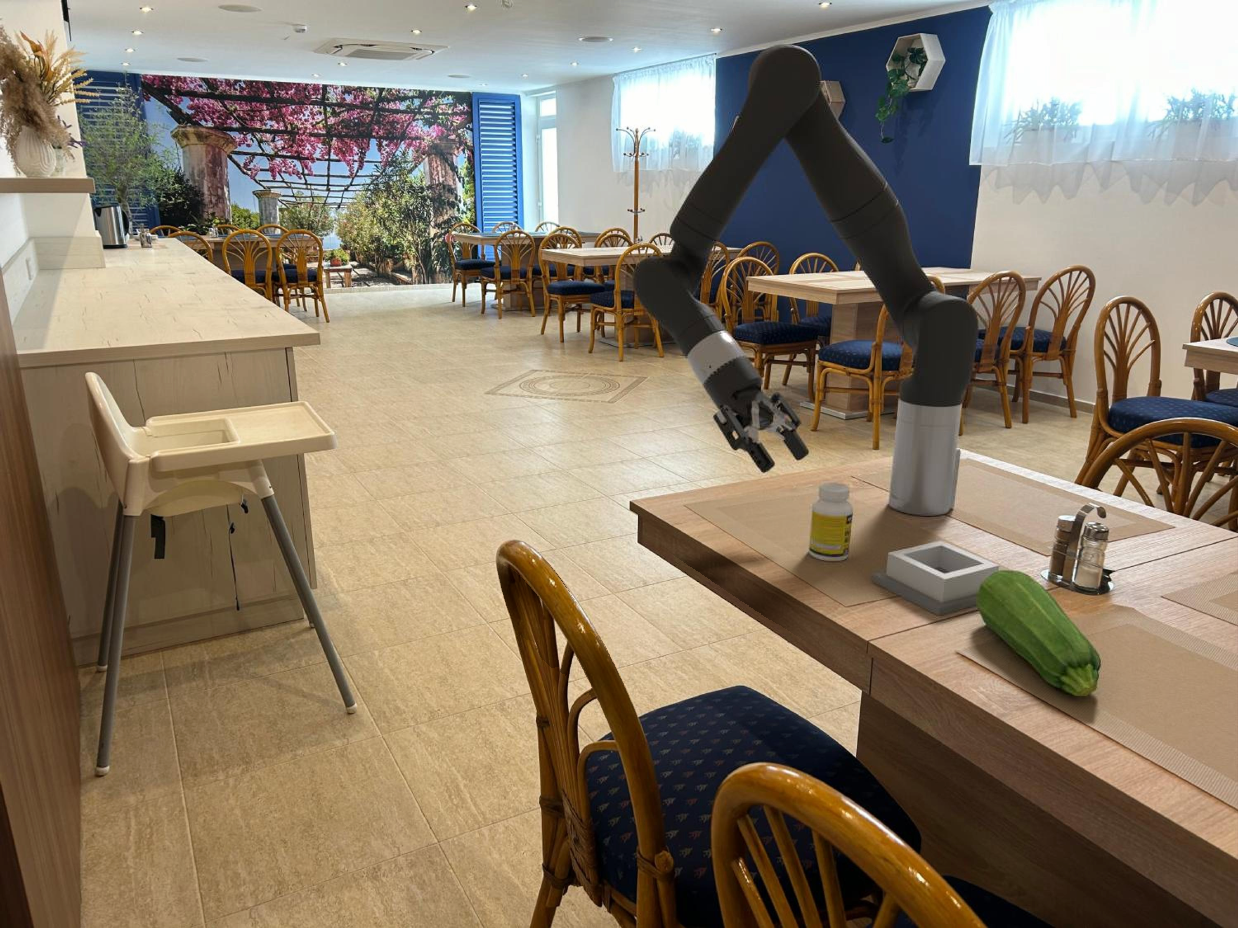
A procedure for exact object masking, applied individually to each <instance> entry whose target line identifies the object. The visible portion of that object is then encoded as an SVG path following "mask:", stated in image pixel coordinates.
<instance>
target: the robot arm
mask: <svg viewBox="0 0 1238 928" xmlns="http://www.w3.org/2000/svg"><path fill="white" fill-rule="evenodd" d="M821 74H822V73H821V70H820V65H819V63H818V61H817V59H816V58H815V56H813V54H812V53H811V52H809V51H808V50H807V49H805V48H803V47H801V46H799V45H796V44H795V45H793V44H790V43H780V44H774V45H772V46H770V47H767V48H766V49H764V50H762V51H760V53H759V54H758V55H757V56H756V58H754V60H753V62H752V64H751V66H750V69H749V71H748V76H747V88H748V93H747V96H746V99H745V100H744V104H743V105H742V108H741V111H740V112H739V115H738V117H737V120H736V121H735V123H734V125H733V128H732V129H731V131H730V132H729V134H728V135H727V137H726V139H725V141H724V143H723V144H722V145H721V147H720V148H719V150H718V151H717V153H716V154H715V156H713V158H712V159H711V161H710V162H709V164H708V165H707V166H706V168H705V169H704V170H703V172H702V173H701V175H700V176H699V177H698V179H697V180H696V181H695V183H694V185H693V186H692V188H691V189H690V191H689V193H688V195H687V196H686V198H685V200H684V202H683V203H682V205H681V206H680V208H679V210H678V211H677V213H676V215H675V217H674V218H673V220H672V223H671V224H670V228H669V230H668V231H669V236H670V238H671V239H672V241H673V245H672V247H671V251H670V252H669V254H668V256H667V257H662V256H655V255H654V256H649V257H645V258H643V259H642V260H640V262H638V263H637V264H636V266H635V268H634V270H633V272H632V281H631V282H632V288H633V291H634V293H635V296H636V298H637V300H638V301H639V303H640V304H641V305H642V306H643V308H644V309H645V310H646V311H647V313H648V314H649V315H650V316H652V318H654V320H656V322H657V323H658V324H659V325H660V326H661V327H663V329H665V331H667V332H668V333H669V335H670V336H671V337H672V339H673V340H674V342H675V343H676V345H677V346H678V348H679V349H680V351H681V352H682V354H683V355H684V357H685V358H686V360H687V362H688V364H689V365H690V367H691V370H692V372H693V373H694V375H695V376H696V378H697V379H698V381H699V382H700V385H701V386H703V389H704V390H705V391H706V393H707V395H708V396H709V397H710V399H711V400H712V402H713V404H714V405H715V407H716V408H717V409H718V410H717V411H716V412H715V413H714V414H713V417H712V418H713V420H714V422H715V423H716V424H717V426H718V428H719V429H720V431H721V433H722V434H723V436H724V438H725V440H726V442H727V443H728V444H729V446H730V447H731V449H732V450H733V451H735V452H736V451H738V450H742V451H743V452H744V453H747V454H748V455H749V457H750V458H751V460H752V461H753V463H754V465H756V467H757V468H758V469H759V471H760V472H761V473H762V474H763V473H764V474H765V473H769V471H771V470H772V469H773V468H774V467H775V465H776V462H775V461H774V459H773V458H772V456H771V455H770V453H769V452H768V450H767V449H766V447H765V446H764V444H763V442H759V441H760V439H759V431H764V430H765V432H768V433H769V434H775V435H777V436H778V437H779V438H781V439H782V441H783V443H784V444H785V446H786V447H787V448H788V450H789V452H790V454H791V455H792V456H793V458H794V459H795V460H796V461H797V462H798V461H801V460H803V459H804V458H806V457H807V456H808V455H809V453H810V450H809V448H808V447H807V445H806V444H805V442H804V441H803V439H802V438H801V436H800V435H799V433H798V432H797V429H798V427H799V426H800V425H802V421H801V419H800V417H798V415H797V414H796V412H795V411H794V410H793V408H792V406H790V404H789V403H788V402H787V401H786V399H785V398H784V396H783V395H782V393H781V392H779V391H775V392H774V393H773V394H772V395H771V396H767V395H766V394H765V393H764V392H763V390H762V386H763V382H764V380H763V377H762V376H761V375H760V373H759V372H758V370H757V369H756V368H755V366H754V365H753V362H751V360H750V359H749V357H748V356H747V354H746V353H745V352H744V351H743V349H742V348H741V346H740V345H739V344H738V343H739V342H737V340H735V339H734V337H732V336H731V334H730V333H729V332H728V331H727V329H726V327H725V326H724V325H723V323H722V322H721V320H720V319H719V317H718V315H716V313H715V312H714V311H713V310H712V308H711V307H710V306H708V305H707V304H705V303H704V302H702V301H700V300H698V299H697V298H695V297H694V295H695V293H696V292H697V291H698V289H699V287H700V285H701V282H702V280H703V277H704V275H705V273H706V269H707V266H708V263H709V260H710V258H711V255H712V254H711V253H712V252H713V248H714V247H715V245H716V244H717V243H718V241H719V239H720V238H721V236H722V235H723V233H724V231H725V230H726V228H727V226H728V224H729V223H730V222H731V220H732V218H733V216H734V214H735V213H736V211H737V209H738V207H740V204H741V202H742V201H743V199H744V198H745V197H746V194H747V192H748V191H749V189H750V187H751V186H752V184H753V183H754V181H755V179H756V177H757V176H758V174H759V172H760V171H761V169H762V168H763V166H764V165H765V163H766V162H767V161H768V159H769V158H770V156H771V155H772V154H773V152H774V151H775V149H777V147H778V146H779V144H780V143H781V142H782V140H784V141H785V142H786V143H787V145H788V146H789V148H790V150H791V151H792V152H793V154H794V156H795V157H796V159H797V162H798V163H799V165H800V167H801V169H802V171H803V174H804V175H805V178H806V180H807V182H808V184H809V186H810V188H811V190H812V192H813V194H814V196H815V197H816V200H817V201H818V203H819V204H820V207H821V208H822V210H823V212H824V214H825V216H826V217H827V219H828V220H829V222H830V224H831V225H832V227H833V228H834V230H835V232H836V233H837V235H838V236H839V238H840V239H841V240H842V242H843V243H844V245H845V246H846V247H847V249H848V251H849V252H850V253H851V255H852V256H853V257H854V260H855V261H856V262H857V264H858V266H859V267H860V269H861V270H862V272H864V274H865V275H866V277H867V278H868V280H870V282H871V284H872V285H873V286H874V288H875V289H876V291H877V293H878V295H879V297H880V299H881V301H882V302H883V303H882V304H883V305H884V307H885V309H886V311H887V312H888V313H887V314H888V315H889V317H890V319H891V322H892V324H893V326H894V327H895V330H896V331H897V334H898V336H899V338H900V339H901V340H902V342H903V343H904V344H905V345H906V346H907V347H909V348H910V349H911V350H914V351H916V353H915V361H914V366H913V371H912V373H911V375H910V376H908V377H906V378H904V379H903V380H901V382H900V386H899V395H898V404H897V415H896V425H895V432H894V433H895V435H894V443H893V444H894V446H893V457H892V466H891V474H890V475H891V476H890V482H889V483H890V484H889V486H890V487H889V495H888V496H889V497H888V505H889V507H891V508H892V509H894V510H896V511H898V512H901V513H904V514H909V515H914V516H915V515H916V516H930V517H931V516H941V515H945V514H947V513H948V512H949V511H950V509H953V508H955V502H956V495H957V493H956V492H957V488H958V487H957V485H958V484H957V483H958V477H959V469H960V461H961V450H960V448H958V442H959V441H958V439H959V434H960V431H959V430H960V426H961V425H960V424H961V417H962V407H963V399H964V395H965V392H966V390H967V388H968V386H969V385H970V383H971V379H972V376H973V375H972V374H973V369H974V364H975V357H976V350H977V346H978V338H979V318H978V313H977V311H976V309H975V307H974V306H973V304H971V303H970V302H969V301H967V299H964V298H962V297H958V296H954V295H950V294H945V293H942V292H940V291H939V289H938V288H937V287H936V286H935V285H934V284H933V283H932V281H931V280H930V279H929V277H928V275H927V274H926V273H925V271H924V270H923V269H922V267H921V265H920V263H919V262H918V260H917V258H916V256H915V253H914V250H913V246H912V245H913V244H912V241H911V237H910V236H911V235H910V229H909V224H908V221H907V217H906V215H905V212H904V210H903V209H904V208H903V207H902V206H901V203H900V201H899V199H898V198H897V197H896V195H895V193H894V191H893V190H892V188H891V187H890V185H889V184H888V182H887V180H886V179H885V177H884V176H883V174H882V173H881V171H880V170H879V169H878V167H877V166H876V164H875V163H874V162H873V160H872V159H871V158H870V157H869V155H867V153H866V152H865V151H864V150H863V148H862V147H861V146H860V145H859V144H858V143H857V141H856V140H855V139H854V138H853V137H852V136H851V134H849V133H848V131H847V130H846V129H845V127H843V125H842V124H841V122H840V121H839V119H838V118H837V116H836V114H835V112H834V110H833V108H832V106H831V105H830V103H829V101H828V99H827V97H826V95H825V93H824V91H823V89H822V87H821V85H822V75H821ZM786 416H788V418H789V419H790V420H789V419H788V418H786ZM774 418H775V419H774ZM780 426H781V427H780ZM734 432H735V433H736V435H737V438H735V437H736V436H734V434H733V433H734Z"/></svg>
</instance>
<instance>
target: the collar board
mask: <svg viewBox="0 0 1238 928" xmlns="http://www.w3.org/2000/svg"><path fill="white" fill-rule="evenodd" d="M997 571H1000V565H999V564H997V563H995V562H992V561H990V560H987V559H986V558H983V557H980V556H978V555H976V554H973V553H971V552H969V551H967V550H964V549H961V548H959V547H957V546H954V545H953V544H949V543H947V542H945V541H944V540H938V541H933V542H929V543H925V544H920V545H917V546H913V547H908V548H903V549H899V550H894V551H889V552H888V554H887V563H886V570H885V571H881V572H877V573H872V579H871V580H872V581H871V582H873V583H874V584H877V585H878V586H880V587H881V588H884V589H886V590H888V591H890V592H892V593H894V594H895V595H897V596H900V597H902V598H904V599H905V600H907V601H909V602H911V603H913V604H915V605H917V606H919V607H920V608H922V609H924V610H927V611H929V612H931V613H932V614H935V615H936V616H943V615H947V614H949V613H954V612H957V611H961V610H964V609H967V608H971V607H974V606H977V595H978V591H979V588H980V584H981V583H982V582H983V581H984V580H985V579H986V578H988V577H989V576H990V575H992V574H993V573H995V572H997Z"/></svg>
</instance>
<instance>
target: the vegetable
mask: <svg viewBox="0 0 1238 928" xmlns="http://www.w3.org/2000/svg"><path fill="white" fill-rule="evenodd" d="M976 607H977V608H978V612H979V614H980V617H981V619H982V621H983V622H984V624H985V625H986V626H987V627H988V628H989V629H990V630H992V631H993V632H994V633H995V634H996V635H998V636H999V637H1000V638H1001V639H1002V640H1003V641H1005V643H1006V644H1007V645H1008V646H1010V647H1011V648H1012V649H1013V650H1014V651H1015V652H1016V653H1017V654H1018V655H1019V656H1021V657H1022V658H1024V659H1025V660H1026V662H1028V663H1029V664H1030V665H1031V666H1032V667H1033V668H1034V669H1035V670H1036V672H1038V674H1039V675H1040V676H1041V677H1042V678H1043V679H1044V681H1045V682H1046V683H1047V684H1049V685H1051V687H1054V688H1058V689H1060V691H1062V692H1063V693H1069V694H1071V695H1073V696H1075V697H1083V696H1084V697H1087V696H1088V695H1090V694H1091V693H1094V692H1096V690H1097V689H1098V687H1097V685H1098V682H1099V681H1098V680H1099V677H1100V673H1099V671H1100V669H1101V667H1102V659H1101V657H1100V654H1099V653H1098V651H1097V649H1096V648H1095V647H1094V645H1093V644H1092V643H1091V641H1090V640H1089V639H1088V638H1087V637H1086V636H1085V635H1084V634H1083V633H1082V632H1081V630H1080V629H1079V628H1078V626H1077V625H1076V624H1075V623H1074V622H1073V621H1072V619H1070V618H1069V616H1068V615H1067V614H1066V612H1065V610H1063V608H1062V607H1061V606H1060V604H1059V603H1058V602H1057V600H1056V599H1055V598H1054V596H1053V595H1052V594H1051V593H1050V592H1049V591H1048V590H1047V589H1046V588H1045V587H1044V586H1043V585H1041V584H1040V583H1039V582H1038V581H1037V580H1035V579H1034V578H1033V577H1031V576H1030V575H1029V574H1027V573H1025V572H1023V571H1019V570H1010V569H999V571H997V572H995V573H993V574H992V575H990V576H989V577H988V578H986V579H985V580H984V581H983V582H982V583H981V584H980V588H979V591H978V595H977V605H976Z"/></svg>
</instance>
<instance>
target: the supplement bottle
mask: <svg viewBox="0 0 1238 928" xmlns="http://www.w3.org/2000/svg"><path fill="white" fill-rule="evenodd" d="M850 490H851V488H850V487H849V486H848V485H847V484H844V483H839V482H823V483H820V485H819V487H818V497H819V498H817V499H815V500H814V501H813V503H812V506H811V517H810V520H811V521H810V529H809V543H808V553H809V555H810V556H811V557H813V558H815V559H818V560H821V561H826V562H839V561H843V560H846V559H847V558H848V557H849V554H850V547H851V534H852V525H853V514H854V507H853V505H852V503H850V501H848V500H849V498H850Z"/></svg>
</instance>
